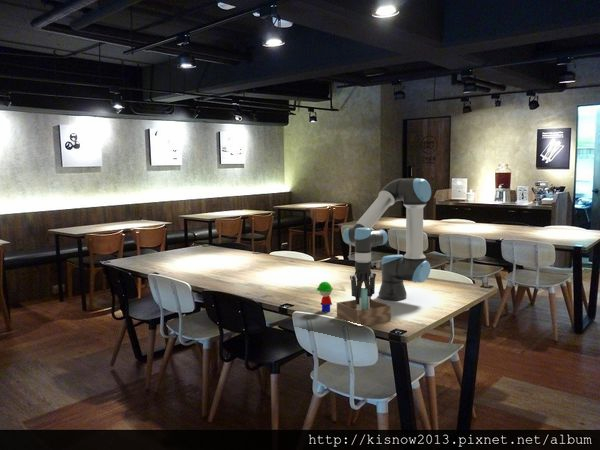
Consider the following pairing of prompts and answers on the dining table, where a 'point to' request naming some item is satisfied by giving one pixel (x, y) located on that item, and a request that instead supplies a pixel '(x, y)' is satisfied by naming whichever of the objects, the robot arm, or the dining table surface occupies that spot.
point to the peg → (363, 298)
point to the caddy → (364, 312)
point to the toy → (325, 295)
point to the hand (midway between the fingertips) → (363, 310)
